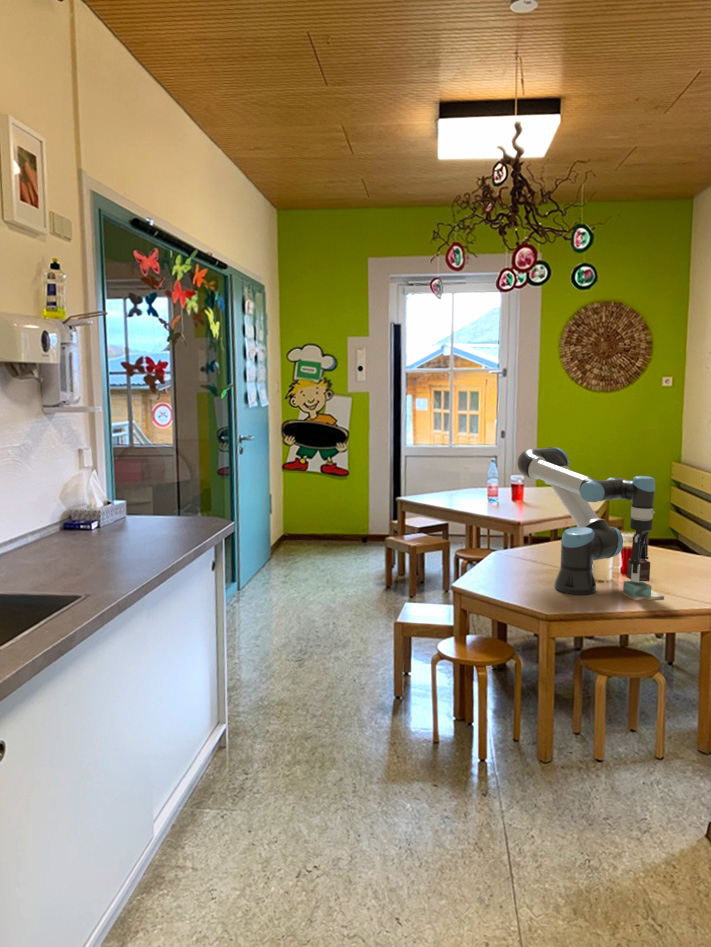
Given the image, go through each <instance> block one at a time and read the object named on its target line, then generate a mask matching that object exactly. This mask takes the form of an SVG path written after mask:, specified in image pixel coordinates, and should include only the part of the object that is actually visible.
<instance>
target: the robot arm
mask: <svg viewBox="0 0 711 947" xmlns="http://www.w3.org/2000/svg"><path fill="white" fill-rule="evenodd" d="M517 469H518V470H519V472H520V474H522V475H523V476H525V477H527V478H529V479H532V480H541V481H543V482H544V484H546V485H550V486H551V488H552V489H553V490H554V493H555V494H556V496H557V497H558V499H559V500H560V501H561V503H562V504H563V506H564V507H565V509H566V511H567V512H568V513H569V515H570V517H571V518H572V520H573V521H574V524H576V526H575V527H574V526H573V527H570V528H567V529H565V530H564V531H563V532H562V536H561V540H560V542H561V544H560V545H561V546H560V547H561V548H560V568H559V571H558V574H557V575H556V577H555V581H554V588H555V590H557V591H559V592H561V593H565V594H571V595H577V596H578V595H579V596H580V595H581V596H582V595H591V594H595V592H596V591H597V585H596V581H595V580H596V579H595V577H594V572H593V564H594V563H593V561H598V560H607V559H612V558H615V557H616V556H618V555H620V553H621V552H622V550H623V547H624V546H623V544H624V537H623V534H622V533H621V531H620V530H619V529H618V528H617V527H613V526H609V524H608V523H607V521H606V519H604V518H599V517H598V515H597V514H596V512H595V510H594V509H593V507H592V506H591V504H590V503H597V502H605V501H613V500H625V501H631V508H630V517H631V519H630V526H629V527H630V529H632V530H635V533H634V534H633V536H632V544H631V545H632V547H631V554H630V559H631V561H630V564H632V571H631V579H630V581H634V582H639V575H640V559H643V558H644V559H645V560H649V556H648V555H649V553H648V552H649V531H652V530H653V523H654V522H653V517H654V514H655V513H656V512H655V510H654V501H655V494H656V479H655V478H654V477H652V476H645V475H636V476H634V477H633V479H632V480H631V479H627V478H626V479H625V478H620V477H609V478H607V479H606V480H605V479H603V480H598V479H595V478H593V477H589V476H587V475H585V474H583V473H582V474H581V473H579V472H576V471H573V470H571V469H570V459H569V457H568V454H567V453H566V451H564V450H563V449H562V448H559V447H554V446H553V447H551V446H550V447H546V448H545V447H543V448H541V447H540V448H539V447H538V448H528V449H525V450H524V451H523V452H521V453H520V455H519V457H518V458H517ZM634 560H636V561H634Z"/></svg>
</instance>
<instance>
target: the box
mask: <svg viewBox="0 0 711 947" xmlns="http://www.w3.org/2000/svg"><path fill="white" fill-rule="evenodd" d="M630 561H631V558H628V559H627V572H626V574H627V575H626V577H627V578H628V579H630V580H631V571H632V564H630ZM634 561H636V560H634ZM650 576H651V561H649V560H648V559H644V558H643V559H640V575H639V581H643V582H650V578H651V577H650Z"/></svg>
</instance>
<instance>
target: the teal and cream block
mask: <svg viewBox="0 0 711 947" xmlns="http://www.w3.org/2000/svg"><path fill="white" fill-rule="evenodd" d="M622 586H623V587H622V589H623V590H622V591H621V594H622V595H624V596H625V597H628V598H629V599H631V600H633V601H644V600H645V601H649V600H664V599H665V596H664V595H663V594H660V593H658V592H656V591H654V590H653V589H652V585H650V584H649V583H647V582H646V581H639V582H634V581H631V580H624V581H623V585H622Z"/></svg>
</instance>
